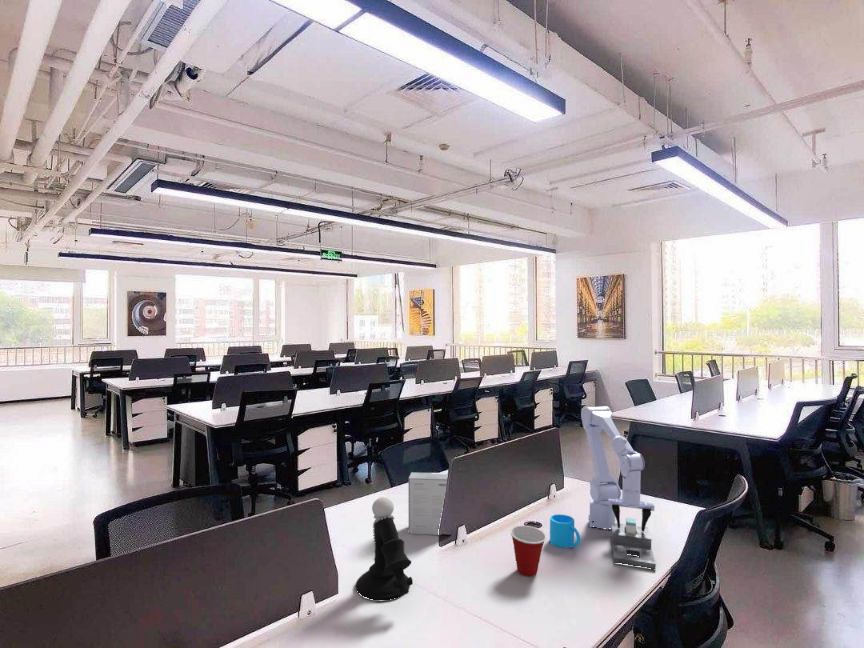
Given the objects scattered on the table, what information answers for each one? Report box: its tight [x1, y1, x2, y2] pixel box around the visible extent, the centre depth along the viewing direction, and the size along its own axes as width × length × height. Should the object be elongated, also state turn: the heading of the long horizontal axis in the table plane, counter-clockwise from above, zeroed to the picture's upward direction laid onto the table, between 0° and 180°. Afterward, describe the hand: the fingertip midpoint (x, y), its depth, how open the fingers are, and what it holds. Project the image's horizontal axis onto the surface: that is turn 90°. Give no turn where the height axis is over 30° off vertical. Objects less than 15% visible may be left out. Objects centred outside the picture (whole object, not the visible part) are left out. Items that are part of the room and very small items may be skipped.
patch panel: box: [610, 522, 657, 570], centre depth 164 cm, size 12×22×4 cm, turn 162°
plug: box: [625, 517, 637, 534], centre depth 170 cm, size 3×4×6 cm
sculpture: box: [355, 497, 413, 601], centre depth 137 cm, size 15×24×25 cm, turn 27°
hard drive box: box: [408, 471, 448, 536], centre depth 178 cm, size 16×8×20 cm, turn 84°
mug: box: [549, 513, 581, 548], centre depth 169 cm, size 12×8×8 cm
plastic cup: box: [510, 525, 547, 577], centre depth 150 cm, size 11×11×12 cm
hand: (630, 528), depth 170 cm, fingers open, 7 cm apart
